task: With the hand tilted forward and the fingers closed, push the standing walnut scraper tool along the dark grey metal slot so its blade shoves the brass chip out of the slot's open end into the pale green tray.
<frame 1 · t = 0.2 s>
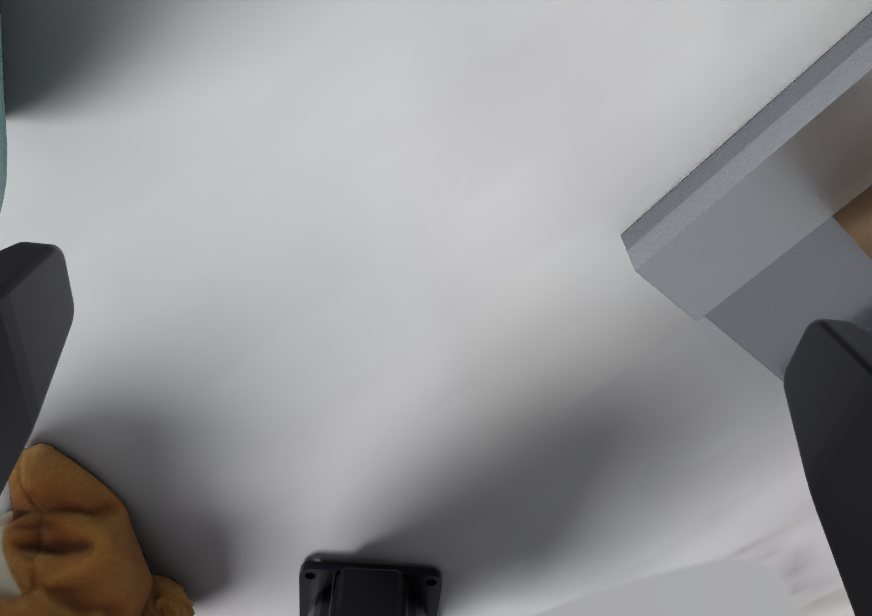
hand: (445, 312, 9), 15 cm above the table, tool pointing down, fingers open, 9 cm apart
stuffed squirrel: (89, 556, 35), on the table
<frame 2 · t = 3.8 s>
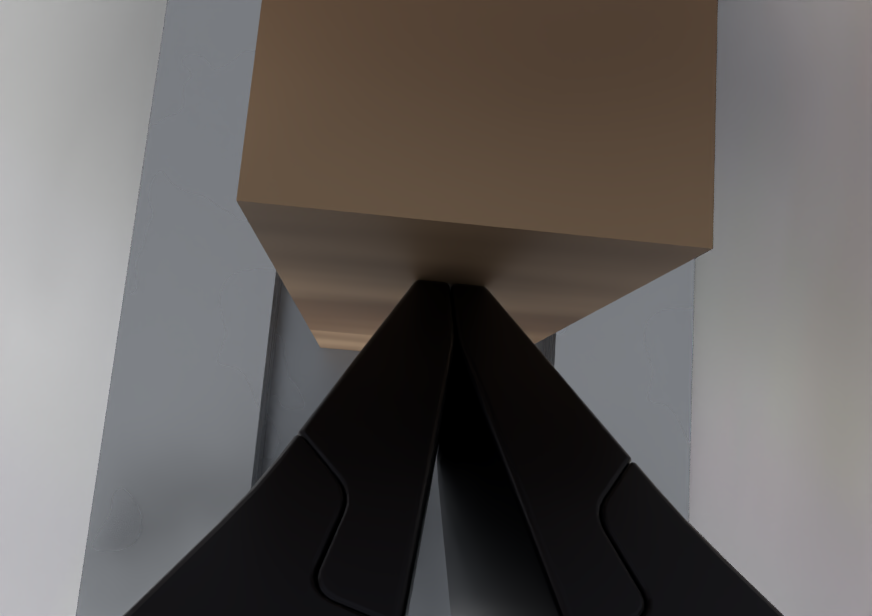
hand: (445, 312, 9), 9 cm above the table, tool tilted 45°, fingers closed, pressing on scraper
scraper: (424, 184, 18), point 1 cm above the table, touching gripper
slot bed: (420, 219, 19), on the table
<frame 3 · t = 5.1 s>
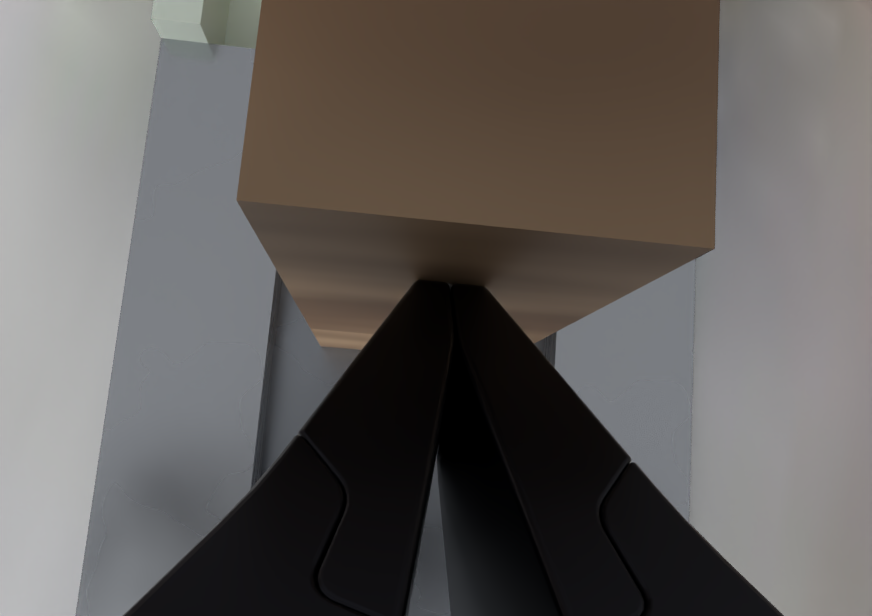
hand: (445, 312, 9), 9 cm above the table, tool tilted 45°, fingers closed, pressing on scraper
scraper: (425, 183, 18), point 1 cm above the table, touching gripper
slot bed: (397, 488, 18), on the table
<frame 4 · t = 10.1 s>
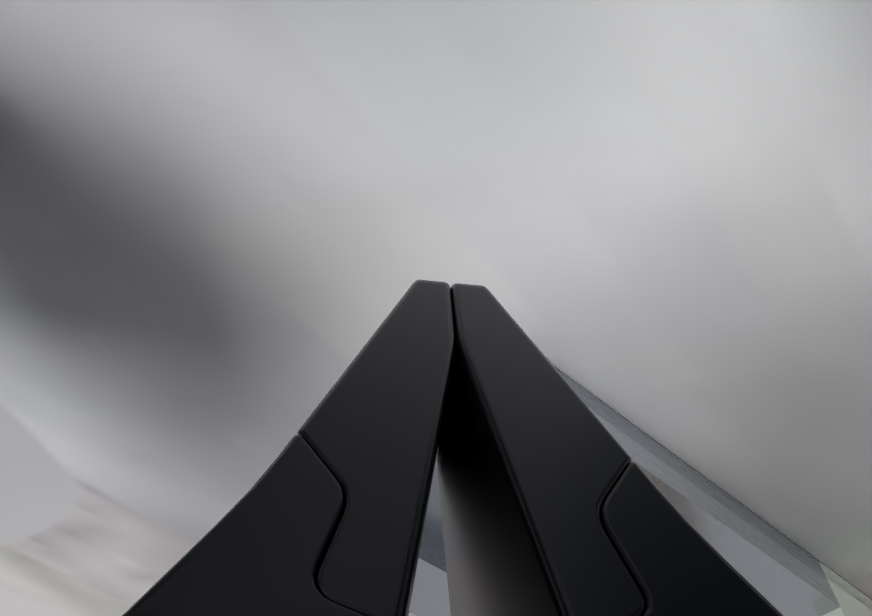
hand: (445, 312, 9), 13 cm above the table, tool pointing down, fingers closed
slot bed: (572, 538, 32), on the table
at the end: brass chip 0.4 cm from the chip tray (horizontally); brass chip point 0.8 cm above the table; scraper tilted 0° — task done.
